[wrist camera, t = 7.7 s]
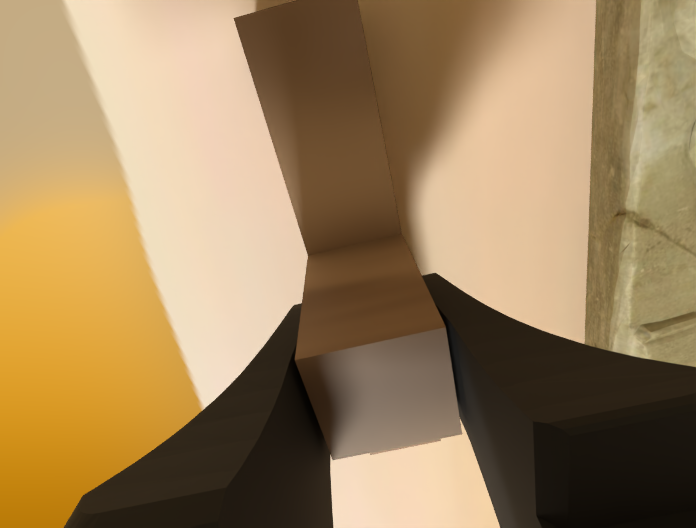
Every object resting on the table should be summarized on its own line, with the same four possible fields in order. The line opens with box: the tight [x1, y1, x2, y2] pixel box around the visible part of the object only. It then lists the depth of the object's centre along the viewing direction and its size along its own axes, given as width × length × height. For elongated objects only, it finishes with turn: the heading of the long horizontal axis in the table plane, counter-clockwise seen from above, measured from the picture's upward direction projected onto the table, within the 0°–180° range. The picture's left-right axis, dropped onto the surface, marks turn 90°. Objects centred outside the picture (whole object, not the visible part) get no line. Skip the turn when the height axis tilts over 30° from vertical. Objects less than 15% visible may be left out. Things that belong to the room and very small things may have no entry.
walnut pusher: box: [234, 0, 462, 460], centre depth 12 cm, size 16×3×8 cm, turn 13°
